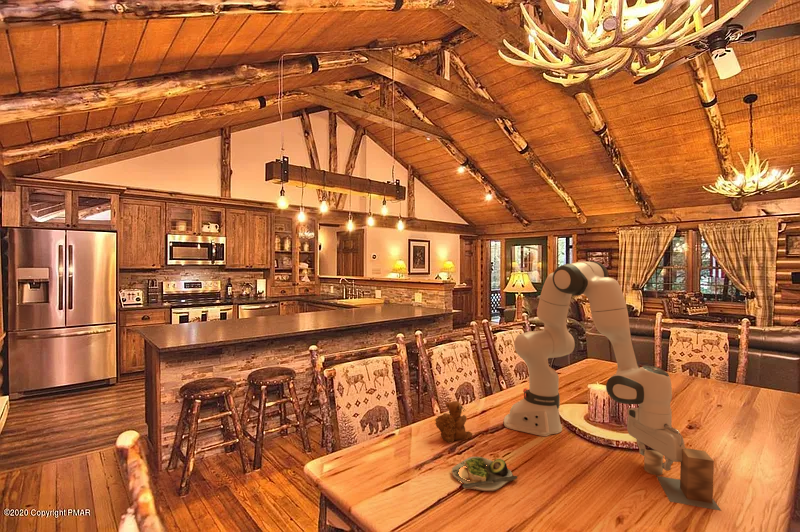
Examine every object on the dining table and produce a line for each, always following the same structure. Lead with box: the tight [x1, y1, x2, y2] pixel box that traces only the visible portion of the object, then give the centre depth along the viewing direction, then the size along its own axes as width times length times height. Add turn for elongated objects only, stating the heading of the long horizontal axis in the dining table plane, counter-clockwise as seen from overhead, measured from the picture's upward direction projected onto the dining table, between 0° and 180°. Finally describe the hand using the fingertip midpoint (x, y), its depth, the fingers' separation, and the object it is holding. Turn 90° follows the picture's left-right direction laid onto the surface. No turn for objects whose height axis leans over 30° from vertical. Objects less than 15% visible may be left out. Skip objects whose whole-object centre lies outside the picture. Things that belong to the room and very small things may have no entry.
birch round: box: [643, 449, 664, 476], centre depth 128 cm, size 5×5×6 cm
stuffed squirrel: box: [434, 400, 473, 443], centre depth 150 cm, size 10×14×13 cm
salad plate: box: [451, 456, 518, 492], centre depth 123 cm, size 19×18×5 cm
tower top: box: [680, 447, 715, 483], centre depth 115 cm, size 6×6×6 cm
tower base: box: [679, 467, 714, 503], centre depth 115 cm, size 6×6×6 cm
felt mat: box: [655, 475, 722, 512], centre depth 116 cm, size 12×14×1 cm
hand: (654, 461), depth 127 cm, fingers open, 8 cm apart
